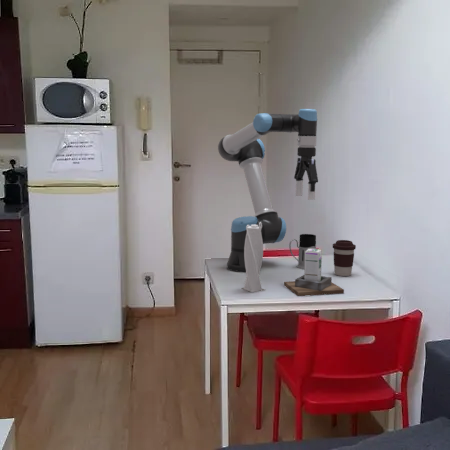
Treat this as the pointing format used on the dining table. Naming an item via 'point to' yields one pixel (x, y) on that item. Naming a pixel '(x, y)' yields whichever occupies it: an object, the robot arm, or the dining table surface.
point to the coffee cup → (343, 257)
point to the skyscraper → (253, 258)
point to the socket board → (313, 292)
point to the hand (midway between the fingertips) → (305, 197)
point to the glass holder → (304, 247)
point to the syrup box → (313, 265)
